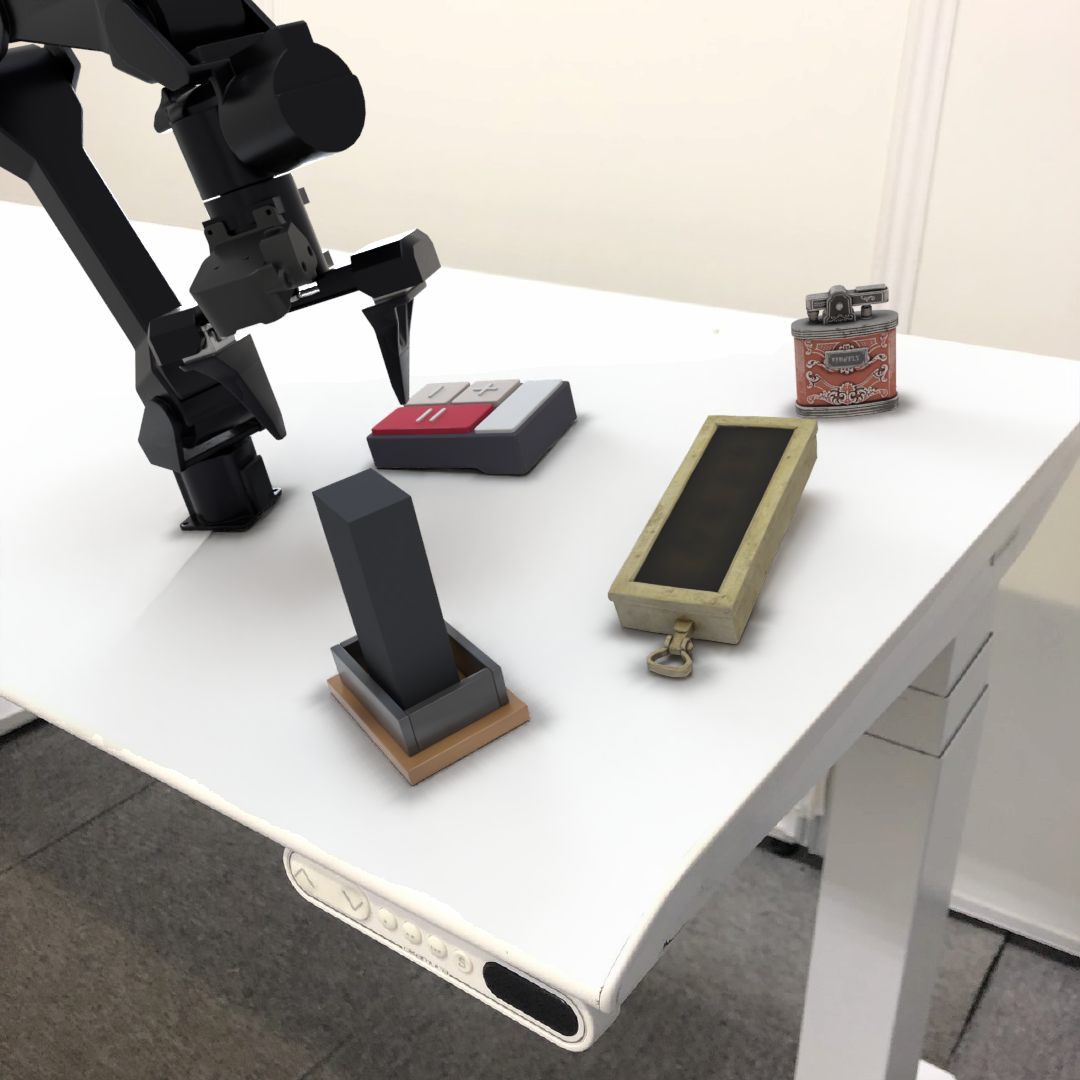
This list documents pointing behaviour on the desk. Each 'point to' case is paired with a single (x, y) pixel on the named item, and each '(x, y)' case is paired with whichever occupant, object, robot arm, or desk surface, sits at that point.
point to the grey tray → (429, 709)
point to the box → (715, 533)
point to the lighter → (845, 354)
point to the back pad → (388, 586)
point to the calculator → (475, 426)
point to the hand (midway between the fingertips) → (342, 420)
